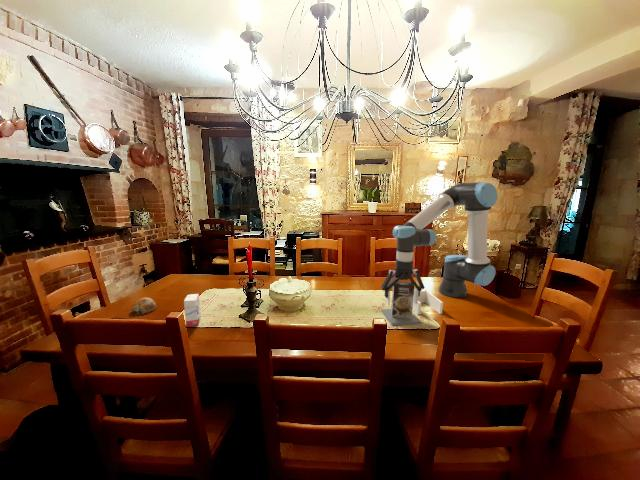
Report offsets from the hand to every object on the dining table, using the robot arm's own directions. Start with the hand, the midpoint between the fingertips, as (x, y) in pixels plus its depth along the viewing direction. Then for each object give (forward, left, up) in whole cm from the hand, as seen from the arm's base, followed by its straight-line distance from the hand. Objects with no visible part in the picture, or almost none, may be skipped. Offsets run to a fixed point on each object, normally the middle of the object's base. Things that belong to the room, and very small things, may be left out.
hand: (401, 303), depth 125 cm
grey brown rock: (+125, -17, -7) cm, 126 cm away
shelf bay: (-16, -10, -7) cm, 20 cm away
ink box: (+96, -3, -7) cm, 97 cm away
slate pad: (0, 0, -7) cm, 7 cm away
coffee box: (0, 0, -6) cm, 6 cm away
